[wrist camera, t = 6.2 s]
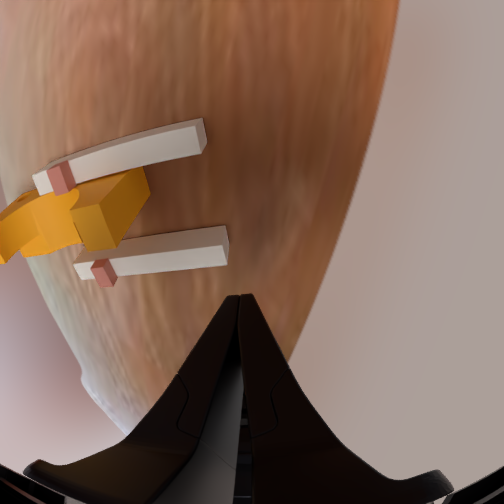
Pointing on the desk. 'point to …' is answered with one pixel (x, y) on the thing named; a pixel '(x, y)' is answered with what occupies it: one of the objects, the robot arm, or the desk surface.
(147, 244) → the guide channel
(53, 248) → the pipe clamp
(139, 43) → the desk surface
